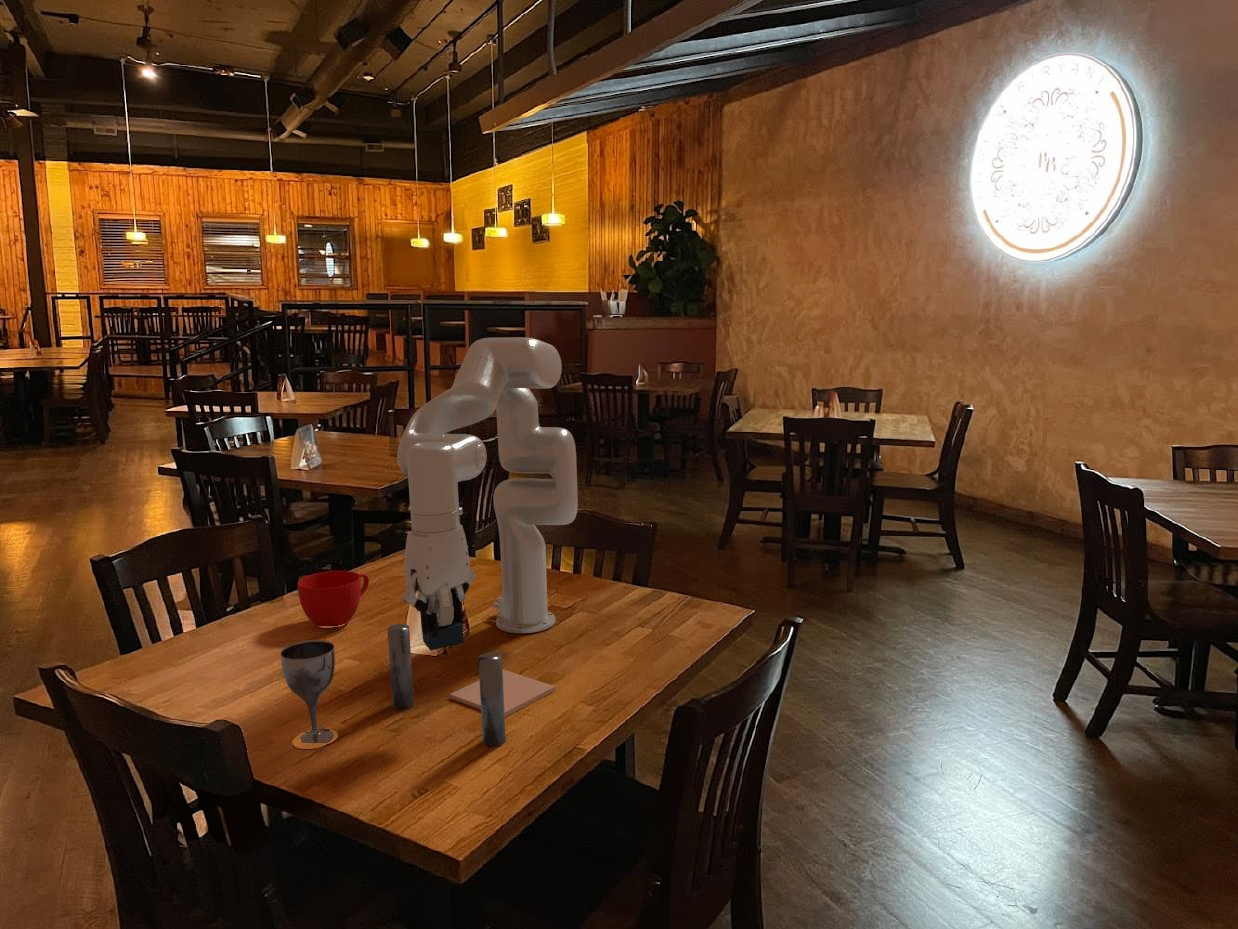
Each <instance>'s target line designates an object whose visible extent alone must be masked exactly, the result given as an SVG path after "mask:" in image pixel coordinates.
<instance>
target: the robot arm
mask: <svg viewBox="0 0 1238 929" xmlns="http://www.w3.org/2000/svg"><path fill="white" fill-rule="evenodd" d="M562 367H563V366H562V359H561V356H560V354H559V351H558V350H557V349H556V347H555V346H553V344H549V343H547V342H544V341H542V340H540V339H536V338H532V337H526V336H525V337H521V336H520V337H517V336H515V337H509V336H508V337H506V336H505V337H484V338H480V339H477V340H475V341H474V342H473V343H472V344H471V345H470V346H469V348H468V350H467V352H466V353H465V356H464V358H463V361H462V363H461V365H460V367H459V369H458V373H457V374H456V376H455V379H454V381H453V384H452V386H451V388H449V389H447V390H445V391H444V392H442V393H440V394H439V395H437V396H435V397H434V398H433V399H431V400H430V401H428V402H426V403H425V404H423V405H422V406H421V407H420V408H418V410H416V411H415V412H414V413H413V415H412V416H411V417H410V419H409V421H408V423H407V425H406V426H405V429H404V432H403V434H402V435H401V439H400V442H399V445H398V448H397V455H396V456H397V458H396V459H397V465H398V467H399V469H400V471H401V472H402V474H403V475H405V476H406V477H407V479H408V491H409V492H408V493H409V494H408V495H409V507H410V519H411V520H410V522H411V531H409V532H407V535H406V542H405V550H404V583H405V590H404V592H403V594H402V597H401V600H402V601H403V602H404V603H406V604H408V605H411V606H412V608H414V609H415V610H416V611H417V612H419V613H420V625H421V626H420V628H421V633H423V634H425V635H427V632H430V631H432V632H433V637H436V636H438V624H437V614H436V613H435V612H433V611H434V603H435V595H436V594H437V591H438V590H439V589H440V588H442V587H443V586H444V585H446V584H448V583H449V586H450V590H451V595H452V598H451V599H452V603H453V607H454V615H453V616H454V618H453V620H456V621H459V622H460V623H461V624H462V626H464V615H463V602H465V601H466V594H467V592H468V590H469V588H470V585H471V584H472V582H473V581H474V580H475V578H476V575H477V574H476V573H475V572H474V570H473V569H472V568H471V567H470V558H469V549H468V548H469V547H468V542H467V538H466V533H465V530H464V527H463V525H462V524H461V522H460V521H461V517H460V516H461V515H463V513H464V511H463V507H461V506H460V502H459V484H458V483H459V482H464V481H469V480H472V479H475V478H477V477H478V476H479V475H480V474H481V473H482V472H483V471H484V468H485V466H486V463H487V458H488V457H487V456H488V454H487V449H486V446H485V444H484V442H483V441H482V440H481V438H479V437H477V436H476V435H473V434H472V435H471V434H467V433H449V432H453V431H454V430H455V431H456V430H457V429H462V428H465V427H468V426H471V425H474V424H476V423H479V422H481V421H484V420H486V419H488V418H489V417H491V416H492V415H493V413H495V412H496V425H497V426H496V427H497V443H498V444H497V446H498V457H499V462H500V465H501V467H502V469H503V470H505V471H507V472H510V473H519V474H549V475H550V476H551V478H524V477H523V478H509V479H505V480H503V481H501V482H499V484H497V486H496V487H495V489H494V491H493V498H492V499H493V507H494V508H493V509H494V512H495V517H496V522H497V527H498V533H499V550H500V567H501V568H500V570H501V575H500V576H501V589H502V591H501V594H502V597H501V596H498V597H497V598H496V600H495V601H494V602H493V603H492V609H493V610H494V609H495V610H499V615H498V616H497V617H496V620H495V623H496V624H495V626H496V627H497V628H498V629H499V630H501V631H503V632H506V633H512V634H532V633H538V632H542V631H545V630H547V629H551V627H553V626H554V625H555V623H556V616H555V614H554V613H552V612H551V611H548V589H547V588H548V585H547V582H548V581H547V557H546V556H547V554H546V553H547V552H546V549H547V548H546V547H547V546H546V541H545V539H544V537H543V535H542V534H541V532H540V530H539V529H538V528H537V526H536V525H539V526H541V525H544V526H546V525H547V526H565V525H569V524H571V523H573V522H574V520H576V516H577V513H578V507H579V506H578V504H579V503H578V501H579V500H578V495H579V493H578V471H577V470H578V469H577V468H578V467H577V451H576V450H577V449H576V443H575V439H574V437H573V434H572V433H571V432H570V431H569V430H568V429H566V428H563V427H555V426H554V427H552V426H551V427H549V426H547V427H546V426H545V427H543V426H540V423H539V422H540V421H539V407H538V406H539V405H538V401H537V398H536V397H535V395H534V393H533V392H532V391H531V390H530V389H543V390H544V389H552V388H553V387H555V386H556V385H557V384H558V382H559V381H560V378H561V375H562V369H563V368H562ZM416 594H417V596H416ZM426 597H427V603H425V598H426ZM423 634H422V635H423Z"/></svg>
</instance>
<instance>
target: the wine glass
mask: <svg viewBox="0 0 1238 929" xmlns="http://www.w3.org/2000/svg"><path fill="white" fill-rule="evenodd" d="M280 661H281V662H280V663H281V670H282V673H283V677H284V680H285V683H286V685H287V686H288V688H289V690H290V691H291V692H293V693H294V694H295V695H297V696H298V697H299V698H300V699H302V700H303V701H304V702H305V704H306V706H307V708H308V712H309V716H310V717H309V718H310V722H311V729H312V730H311V731H309V732H306V733H305V734H303V735H302V736H301V737H300V738H301V741H302V743H313V744H314V743H328V742H330V741H331V740H332V739H333V737H334V734H333V732H331V731H330V729H325V728H326V727H318V725H317V723H318V722H317V709H318V703H319V701H320V698H321V697H322V695H324V693H325V692H326V690H327V689H328V688H329V686H330V685H331V684H332V682H333V679H334V677H335V676H334V674H335V669H336V651H335V644H334V643H333V642H331V641H329V640H324V639H311V640H303V641H299V642H295V643H291V644H289V645H287V646H285V647H284V648H283V649H281V652H280ZM317 728H319V729H317Z"/></svg>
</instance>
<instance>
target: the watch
mask: <svg viewBox="0 0 1238 929" xmlns="http://www.w3.org/2000/svg"><path fill="white" fill-rule="evenodd" d="M451 598H452V595H451V590H450V586H449V583H448V584H446V585H444V586H443V587H442V588H440V589H439V590H438V591H437V594H436V595H435V603H434V611H433V612H435V613H436V614H437V624H438V636H436V637H433V632H432V631H430V632H427V635H425V634H423V633H422V632H421V633H422V642H423V643H424V644H425V646H426V647H427V648H428V649H429V651H435V650H439V649H443V648H448V647H453V646H458V645H461V644H465V642H464V639H465V638H464V628H463V626H464V625H463V626H462V624H461V623H460V622H459V621H456V620H453V618H454V616H453V615H454V607H453V603H452V599H451ZM425 603H427V597H426V598H425Z"/></svg>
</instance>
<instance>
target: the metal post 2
mask: <svg viewBox="0 0 1238 929" xmlns="http://www.w3.org/2000/svg"><path fill="white" fill-rule="evenodd" d="M477 658H478V673H479V674H478V676H479V677H478V679H479V680H480V699H481V710H480V716H481V732H482V733H481V738H482V744H483V746H485V747H488V748H495V747H496V748H497V747H501V746H503V745H504V744H505V743H506V742H507V740H506V739H507V738H506V737H507V736H506V735H507V734H506V717H505V711H504V689H503V668H504V667H503V655H502V654H501V653H499V652H485V653H482V654H480V655H479V656H478V657H477ZM502 744H503V745H502Z"/></svg>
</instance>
